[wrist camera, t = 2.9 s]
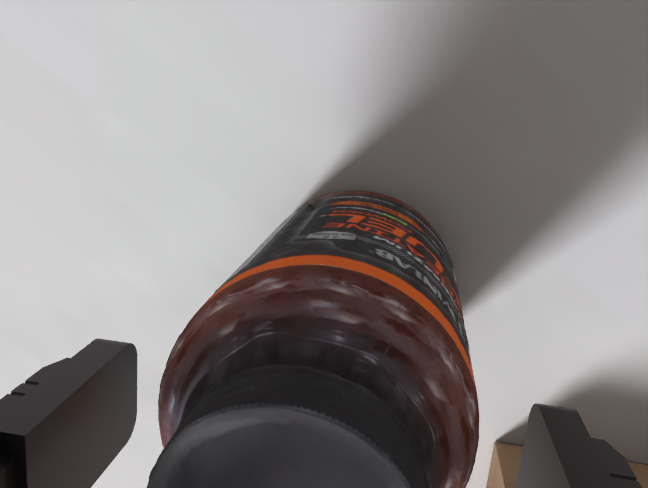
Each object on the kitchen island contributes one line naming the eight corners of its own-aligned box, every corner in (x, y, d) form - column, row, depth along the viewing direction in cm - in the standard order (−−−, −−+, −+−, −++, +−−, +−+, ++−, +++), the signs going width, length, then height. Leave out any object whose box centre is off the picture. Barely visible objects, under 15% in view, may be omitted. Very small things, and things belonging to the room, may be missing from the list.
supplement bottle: (488, 232, 18) (602, 467, 7) (405, 393, 20) (396, 776, 9) (305, 153, 18) (145, 266, 7) (238, 319, 20) (31, 609, 9)
